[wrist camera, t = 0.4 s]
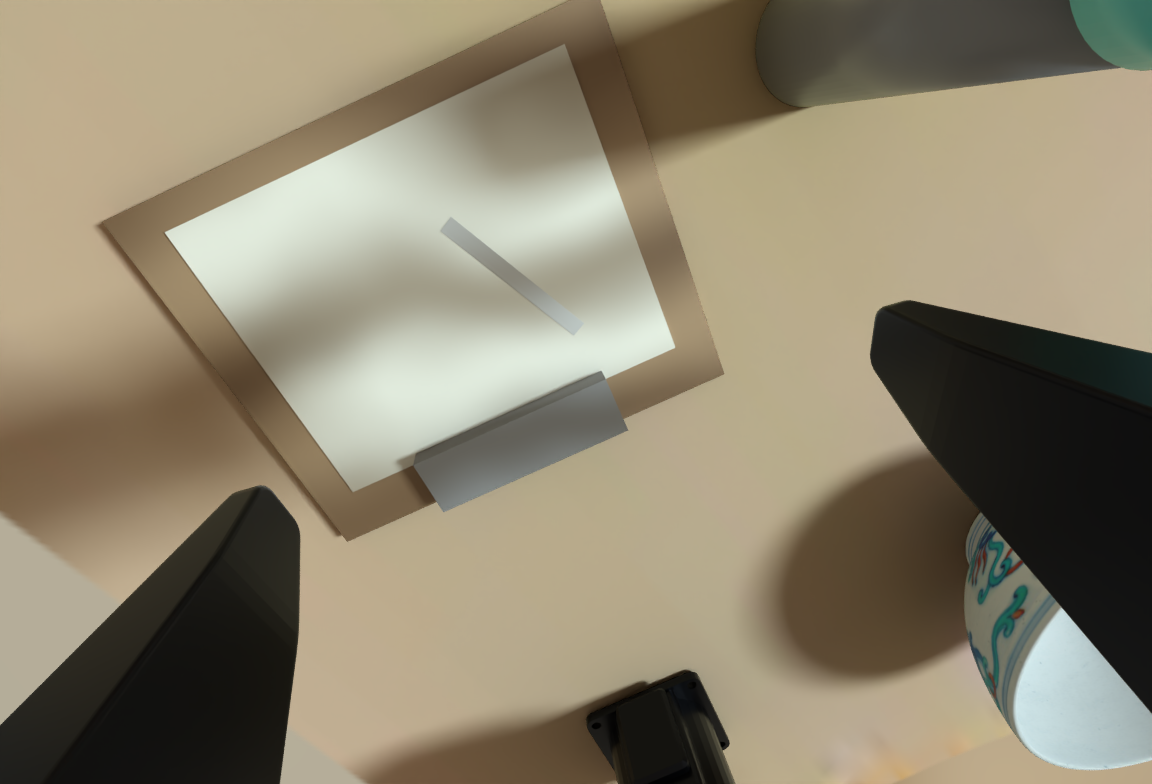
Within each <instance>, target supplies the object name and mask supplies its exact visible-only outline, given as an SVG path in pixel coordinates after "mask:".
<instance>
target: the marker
mask: <svg viewBox="0 0 1152 784" xmlns="http://www.w3.org/2000/svg"><path fill="white" fill-rule="evenodd" d="M756 61H757V66H758V70H759V73H760V76H761V78H762V80H763V82H764V84H765V85H766V87H767V89H768V90H769V91H770V92H771V93H772V94H773V95H774V96H775V97H776V98H777V99H779V100H780V101H782V102H784V103H786V104H788V105H791V106H795V107H812V106H820V105H828V104H836V103H844V102H852V101H860V100H868V99H876V98H884V97H892V96H900V95H908V94H916V93H923V92H931V91H939V90H947V89H955V88H963V87H971V86H979V85H987V84H995V83H1003V82H1011V81H1019V80H1027V79H1035V78H1043V77H1051V76H1058V75H1066V74H1074V73H1082V72H1090V71H1098V70H1106V69H1114V68H1125V69H1130V70H1140V71H1145V70H1152V0H770V2H769V3H768V5H767V7H766V9H765V11H764V13H763V15H762V18H761V20H760V23H759V27H758V31H757V37H756Z"/></svg>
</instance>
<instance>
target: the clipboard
mask: <svg viewBox="0 0 1152 784" xmlns="http://www.w3.org/2000/svg"><path fill="white" fill-rule="evenodd" d="M102 223H103V224H104V225H105V227H106V228H107V229H108V230H109V232H110V233H111V234H112V236H113V237H114V238H115V240H116V241H117V242H118V244H119V245H120V246H121V247H122V249H123V250H124V251H125V253H126V254H127V255H128V257H129V258H130V259H131V260H132V262H133V263H134V264H135V266H136V267H137V268H138V270H139V271H140V272H141V273H142V275H143V276H144V277H145V279H146V280H147V281H148V283H149V284H150V285H151V287H152V288H153V289H154V290H155V292H156V293H157V294H158V296H159V297H160V298H161V300H162V301H163V302H164V303H165V305H166V306H167V307H168V309H169V310H170V311H171V313H172V314H173V315H174V317H175V318H176V319H177V320H178V322H179V323H180V324H181V326H182V327H183V328H184V330H185V331H186V332H187V333H188V335H189V336H190V337H191V339H192V340H193V341H194V343H195V344H196V345H197V347H198V348H199V349H200V350H201V352H202V353H203V354H204V356H205V357H206V358H207V360H208V361H209V362H210V363H211V365H212V366H213V367H214V369H215V370H216V371H217V373H218V374H219V375H220V376H221V378H222V379H223V380H224V382H225V383H226V384H227V386H228V387H229V388H230V390H231V391H232V392H233V393H234V395H235V396H236V397H237V399H238V400H239V401H240V403H241V404H242V405H243V406H244V408H245V409H246V410H247V412H248V413H249V414H250V416H251V417H252V418H253V420H254V421H255V422H256V423H257V425H258V426H259V427H260V429H261V430H262V431H263V433H264V434H265V435H266V436H267V438H268V439H269V440H270V442H271V443H272V444H273V446H274V447H275V448H276V449H277V451H278V452H279V453H280V455H281V456H282V457H283V459H284V460H285V461H286V463H287V464H288V465H289V466H290V468H291V469H292V470H293V472H294V473H295V474H296V476H297V477H298V478H299V479H300V481H301V482H302V483H303V485H304V486H305V487H306V489H307V490H308V491H309V493H310V494H311V495H312V496H313V498H314V499H315V500H316V502H317V503H318V504H319V506H320V507H321V508H322V509H323V511H324V512H325V513H326V515H327V516H328V517H329V519H330V520H331V521H332V522H333V524H334V525H335V526H336V528H337V529H338V530H339V532H340V533H341V534H342V536H343V537H344V538H345V539H346V541H347V542H348V541H350V540H352V539H354V538H357V537H359V536H361V535H363V534H366V533H368V532H370V531H372V530H375V529H377V528H379V527H381V526H384V525H386V524H388V523H390V522H393V521H395V520H397V519H399V518H402V517H404V516H406V515H408V514H411V513H413V512H415V511H417V510H420V509H422V508H424V507H426V506H429V505H431V504H433V503H435V502H437V503H438V505H439V506H440V508H441V509H442V511H443V512H445V511H447V510H450V509H452V508H454V507H456V506H459V505H461V504H463V503H465V502H468V501H470V500H472V499H474V498H477V497H479V496H481V495H483V494H486V493H488V492H490V491H492V490H495V489H497V488H499V487H501V486H504V485H506V484H508V483H510V482H513V481H515V480H517V479H519V478H522V477H524V476H526V475H528V474H531V473H533V472H535V471H537V470H540V469H542V468H544V467H546V466H549V465H551V464H553V463H555V462H558V461H560V460H562V459H564V458H567V457H569V456H571V455H573V454H576V453H578V452H580V451H582V450H585V449H587V448H589V447H592V446H594V445H596V444H598V443H601V442H603V441H605V440H607V439H610V438H612V437H614V436H616V435H619V434H621V433H623V432H625V431H628V429H627V427H626V424H625V422H624V420H623V419H624V418H626V417H629V416H631V415H633V414H635V413H638V412H640V411H642V410H644V409H647V408H649V407H651V406H653V405H656V404H658V403H660V402H662V401H665V400H667V399H669V398H671V397H674V396H676V395H678V394H680V393H683V392H685V391H687V390H689V389H692V388H694V387H696V386H698V385H701V384H703V383H705V382H707V381H710V380H712V379H714V378H716V377H719V376H721V375H723V374H724V372H723V369H722V366H721V363H720V360H719V357H718V354H717V351H716V348H715V345H714V342H713V339H712V336H711V333H710V330H709V326H708V323H707V320H706V317H705V314H704V311H703V308H702V305H701V302H700V299H699V296H698V293H697V290H696V287H695V284H694V281H693V278H692V275H691V272H690V269H689V266H688V263H687V260H686V257H685V254H684V251H683V248H682V245H681V242H680V239H679V236H678V233H677V230H676V227H675V224H674V221H673V218H672V215H671V212H670V209H669V206H668V203H667V200H666V197H665V194H664V191H663V188H662V185H661V182H660V179H659V176H658V173H657V170H656V167H655V164H654V161H653V158H652V155H651V151H650V148H649V145H648V142H647V139H646V136H645V133H644V130H643V127H642V124H641V121H640V118H639V115H638V112H637V109H636V106H635V103H634V100H633V97H632V94H631V91H630V88H629V85H628V82H627V79H626V76H625V73H624V70H623V67H622V64H621V61H620V58H619V55H618V52H617V49H616V46H615V43H614V40H613V37H612V34H611V31H610V28H609V25H608V22H607V19H606V16H605V13H604V10H603V7H602V4H601V1H600V0H570V1H568V2H565V3H563V4H561V5H559V6H557V7H555V8H553V9H551V10H549V11H546V12H544V13H542V14H540V15H538V16H536V17H534V18H532V19H530V20H527V21H525V22H523V23H521V24H519V25H517V26H515V27H513V28H511V29H508V30H506V31H504V32H502V33H500V34H498V35H496V36H494V37H492V38H489V39H487V40H485V41H483V42H481V43H479V44H477V45H475V46H472V47H470V48H468V49H466V50H464V51H462V52H460V53H458V54H456V55H453V56H451V57H449V58H447V59H445V60H443V61H441V62H439V63H437V64H434V65H432V66H430V67H428V68H426V69H424V70H422V71H420V72H418V73H415V74H413V75H411V76H409V77H407V78H405V79H403V80H401V81H399V82H396V83H394V84H392V85H390V86H388V87H386V88H384V89H382V90H380V91H377V92H375V93H373V94H371V95H369V96H367V97H365V98H363V99H361V100H358V101H356V102H354V103H352V104H350V105H348V106H346V107H344V108H342V109H339V110H337V111H335V112H333V113H331V114H329V115H327V116H325V117H323V118H320V119H318V120H316V121H314V122H312V123H310V124H308V125H306V126H304V127H301V128H299V129H297V130H295V131H293V132H291V133H289V134H287V135H285V136H282V137H280V138H278V139H276V140H274V141H272V142H270V143H268V144H266V145H263V146H261V147H259V148H257V149H255V150H253V151H251V152H249V153H247V154H244V155H242V156H240V157H238V158H236V159H234V160H232V161H230V162H228V163H225V164H223V165H221V166H219V167H217V168H215V169H213V170H211V171H209V172H206V173H204V174H202V175H200V176H198V177H196V178H194V179H192V180H190V181H187V182H185V183H183V184H181V185H179V186H177V187H175V188H173V189H170V190H168V191H166V192H164V193H162V194H160V195H158V196H156V197H154V198H151V199H149V200H147V201H145V202H143V203H141V204H139V205H137V206H135V207H132V208H130V209H128V210H126V211H124V212H122V213H120V214H118V215H116V216H113V217H111V218H109V219H107V220H105V221H103V222H102Z"/></svg>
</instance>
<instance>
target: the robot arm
mask: <svg viewBox="0 0 1152 784" xmlns="http://www.w3.org/2000/svg"><path fill="white" fill-rule="evenodd" d="M870 359H871V364H872V366H873V369H874V370H875V372H876V374H877V375H878V377H879V378H880V380H881V381H882V383H883V384H884V386H885V387H886V389H887V390H888V392H889V393H890V395H891V396H892V398H893V399H894V401H895V402H896V403H897V405H898V406H899V408H900V409H901V411H902V412H903V414H904V415H905V417H906V418H907V420H908V421H909V423H910V424H911V426H912V427H913V429H914V430H915V432H916V433H917V435H918V436H919V438H920V439H921V440H922V442H923V443H924V445H925V446H926V447H927V449H928V450H929V451H930V452H931V454H932V455H933V456H934V457H935V459H936V460H937V461H938V462H939V464H940V465H941V466H942V467H943V468H944V470H945V471H946V472H947V473H948V474H949V475H950V477H951V478H952V479H953V480H954V481H955V483H956V484H957V485H958V486H959V487H960V488H961V490H962V491H963V492H964V493H965V494H966V496H967V497H968V498H969V499H970V500H971V501H972V503H973V504H974V505H975V506H976V507H977V508H978V510H979V511H980V512H981V513H982V514H983V516H984V517H985V518H986V519H987V520H988V521H989V523H990V524H991V525H992V526H993V527H994V529H995V530H996V531H997V532H998V533H999V534H1000V536H1001V537H1002V538H1003V539H1004V540H1005V542H1006V543H1007V544H1008V545H1009V546H1010V547H1011V549H1012V550H1013V551H1014V552H1015V553H1016V554H1017V556H1018V557H1019V558H1020V559H1021V560H1022V562H1023V563H1024V564H1025V565H1026V566H1027V567H1028V569H1029V570H1030V571H1031V572H1032V573H1033V575H1034V576H1035V577H1036V578H1037V579H1038V580H1039V582H1040V583H1041V584H1042V585H1043V586H1044V588H1045V589H1046V590H1047V591H1048V592H1049V593H1050V595H1051V596H1052V597H1053V598H1054V599H1055V600H1056V602H1057V603H1058V604H1059V605H1060V606H1061V608H1062V609H1063V610H1064V611H1065V612H1066V613H1067V615H1068V616H1069V617H1070V618H1071V619H1072V621H1073V622H1074V623H1075V624H1076V625H1077V626H1078V628H1079V629H1080V630H1081V631H1082V632H1083V634H1084V635H1085V636H1086V637H1087V638H1088V639H1089V641H1090V642H1091V643H1092V644H1093V645H1094V646H1095V648H1096V649H1097V650H1098V651H1099V652H1100V654H1101V655H1102V656H1103V657H1104V658H1105V659H1106V661H1107V662H1108V663H1109V664H1110V665H1111V667H1112V668H1113V669H1114V670H1115V671H1116V672H1117V674H1118V675H1119V676H1120V677H1121V678H1122V680H1123V681H1124V682H1125V683H1126V684H1127V685H1128V687H1129V688H1130V689H1131V690H1132V691H1133V692H1134V694H1135V695H1136V696H1137V697H1138V698H1139V700H1140V701H1141V702H1142V703H1143V704H1144V705H1145V707H1146V708H1147V709H1148V710H1149V711H1150V713H1151V714H1152V353H1149V352H1144V351H1139V350H1135V349H1130V348H1126V347H1121V346H1117V345H1112V344H1108V343H1103V342H1098V341H1094V340H1089V339H1085V338H1080V337H1076V336H1071V335H1067V334H1062V333H1057V332H1053V331H1048V330H1044V329H1039V328H1035V327H1030V326H1026V325H1021V324H1016V323H1012V322H1007V321H1003V320H998V319H994V318H989V317H985V316H980V315H975V314H971V313H966V312H962V311H957V310H953V309H948V308H943V307H939V306H934V305H930V304H925V303H921V302H916V301H911V300H906V301H902V302H898V303H895V304H891V305H888V306H884V307H882V308H881V309H879V311H878V312H877V314H876V317H875V322H874V329H873V336H872V344H871V351H870ZM299 601H300V531H299V528H298V525H297V523H296V521H295V519H294V518H293V517H292V515H291V514H290V513H289V512H288V510H287V509H286V508H285V507H284V505H283V504H282V503H281V502H280V500H279V499H278V498H277V497H276V495H275V494H274V493H273V492H272V491H271V489H269V488H268V487H266V486H261V485H260V486H255V487H252V488H248V489H245V490H241V491H238V492H235V493H233V494H232V495H231V496H229V497H228V498H227V499H226V500H225V501H224V502H223V503H222V504H221V505H220V506H219V507H218V508H217V509H216V510H215V511H214V512H213V513H212V514H211V515H210V516H209V517H208V518H207V519H206V520H205V521H204V522H203V523H202V524H201V525H200V526H199V527H198V528H197V529H196V530H195V531H194V532H193V533H192V534H191V535H190V536H189V537H188V538H187V539H186V540H185V541H184V542H183V543H182V544H181V545H180V546H179V547H178V548H177V549H176V550H175V551H174V552H173V553H172V554H171V555H170V556H169V557H168V558H167V559H166V560H165V561H164V562H163V563H162V564H161V565H160V566H159V567H158V568H157V569H156V570H155V571H154V572H153V573H152V574H151V575H150V576H149V577H148V578H147V579H146V580H145V581H144V582H143V583H142V584H141V585H140V586H139V587H138V588H137V589H136V590H135V591H134V592H133V593H132V594H131V595H130V596H129V597H128V598H127V599H126V600H125V601H124V602H123V603H122V604H121V605H120V606H119V607H118V608H117V609H116V610H115V611H114V612H113V613H112V614H111V615H110V616H109V617H108V618H107V619H106V620H105V621H104V622H103V623H102V624H101V625H100V626H99V627H98V628H97V629H96V630H95V631H94V632H93V633H92V634H91V635H90V636H89V637H88V638H87V639H86V640H85V641H84V642H83V643H82V644H81V645H80V646H79V647H78V648H77V649H76V650H75V651H74V652H73V653H72V654H71V655H70V656H69V657H68V658H67V659H66V660H65V661H64V662H63V663H62V664H61V665H60V666H59V667H58V668H57V669H56V670H55V671H54V672H53V673H52V674H51V675H50V676H49V677H48V678H47V679H46V680H45V681H44V682H43V683H42V684H41V685H40V686H39V687H38V688H37V689H36V690H35V691H34V692H33V693H32V694H31V695H30V696H29V697H28V698H27V699H26V700H25V701H24V702H23V703H22V704H21V705H20V706H19V707H18V708H17V709H16V710H15V711H14V712H13V713H12V714H11V715H10V716H9V717H8V718H7V719H6V720H5V721H4V722H3V723H2V724H1V725H0V784H280V777H281V770H282V762H283V754H284V746H285V738H286V731H287V724H288V716H289V708H290V700H291V693H292V685H293V677H294V669H295V662H296V654H297V645H298V635H299ZM586 723H587V728H588V730H589V732H590V734H591V735H592V737H593V738H594V740H595V741H596V743H597V744H598V746H599V747H600V749H601V751H602V752H603V754H604V755H605V757H606V758H607V760H608V761H609V763H610V764H611V766H612V768H613V769H614V771H615V773H616V778H617V783H618V784H735V782H734V779H733V776H732V774H731V771H730V769H729V766H728V764H727V761H726V758H725V756H724V753H723V751H722V750H724V749H726V748H727V747H728V746H729V744H730V743H729V739H728V737H727V735H726V732H725V730H724V728H723V726H722V724H721V722H720V720H719V718H718V716H717V714H716V712H715V709H714V707H713V705H712V703H711V701H710V699H709V697H708V695H707V693H706V691H705V689H704V686H703V684H702V682H701V680H700V678H699V676H698V674H697V673H695V672H689V673H685V674H683V675H681V676H678V677H676V678H674V679H671V680H669V681H667V682H664V683H662V684H660V685H657V686H655V687H653V688H650V689H648V690H646V691H643V692H641V693H639V694H636V695H634V696H632V697H629V698H627V699H624V700H622V701H620V702H617V703H615V704H613V705H610V706H608V707H606V708H603V709H601V710H599V711H596V712H594V713H592V714H590V715H589V716H588V717H587V718H586Z"/></svg>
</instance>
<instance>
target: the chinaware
mask: <svg viewBox="0 0 1152 784" xmlns="http://www.w3.org/2000/svg"><path fill="white" fill-rule="evenodd" d="M966 557H967V561H968V563H969V569H968V573H967V578H966V583H965V593H964V613H965V623H966V630H967V635H968V639H969V643H970V646H971V650H972V653H973V656H974V659H975V662H976V664H977V667H978V669H979V672H980V674H981V676H982V678H983V680H984V683H985V685H986V687H987V689H988V691H989V693H990V694H991V696H992V698H993V700H994V702H995V704H996V705H997V707H998V709H999V710H1000V712H1001V714H1002V715H1003V717H1004V718H1005V720H1006V722H1007V723H1008V725H1009V726H1010V728H1011V729H1012V731H1013V732H1014V734H1015V735H1016V736H1017V738H1018V739H1019V740H1020V742H1021V743H1022V744H1023V745H1024V746H1025V747H1026V748H1027V749H1028V750H1029V751H1030V752H1031V753H1033V754H1034V755H1036V756H1037V757H1038V758H1040V759H1042V760H1044V761H1046V762H1048V763H1051V764H1053V765H1057V766H1060V767H1064V768H1069V769H1078V770H1103V769H1113V768H1120V767H1125V766H1130V765H1135V764H1139V763H1143V762H1147V761H1150V760H1152V714H1151V713H1150V711H1149V710H1148V709H1147V708H1146V707H1145V705H1144V704H1143V703H1142V702H1141V701H1140V700H1139V698H1138V697H1137V696H1136V695H1135V694H1134V692H1133V691H1132V690H1131V689H1130V688H1129V687H1128V685H1127V684H1126V683H1125V682H1124V681H1123V680H1122V678H1121V677H1120V676H1119V675H1118V674H1117V672H1116V671H1115V670H1114V669H1113V668H1112V667H1111V665H1110V664H1109V663H1108V662H1107V661H1106V659H1105V658H1104V657H1103V656H1102V655H1101V654H1100V652H1099V651H1098V650H1097V649H1096V648H1095V646H1094V645H1093V644H1092V643H1091V642H1090V641H1089V639H1088V638H1087V637H1086V636H1085V635H1084V634H1083V632H1082V631H1081V630H1080V629H1079V628H1078V626H1077V625H1076V624H1075V623H1074V622H1073V621H1072V619H1071V618H1070V617H1069V616H1068V615H1067V613H1066V612H1065V611H1064V610H1063V609H1062V608H1061V606H1060V605H1059V604H1058V603H1057V602H1056V600H1055V599H1054V598H1053V597H1052V596H1051V595H1050V593H1049V592H1048V591H1047V590H1046V589H1045V588H1044V586H1043V585H1042V584H1041V583H1040V582H1039V580H1038V579H1037V578H1036V577H1035V576H1034V575H1033V573H1032V572H1031V571H1030V570H1029V569H1028V567H1027V566H1026V565H1025V564H1024V563H1023V562H1022V560H1021V559H1020V558H1019V557H1018V556H1017V554H1016V553H1015V552H1014V551H1013V550H1012V549H1011V547H1010V546H1009V545H1008V544H1007V543H1006V542H1005V540H1004V539H1003V538H1002V537H1001V536H1000V534H999V533H998V532H997V531H996V530H995V529H994V527H993V526H992V525H991V524H990V523H989V521H988V520H987V519H986V518H985V517H984V516H983V514H982V513H981V512H980V513H979V514H978V516H977V517H976V519H975V521H974V522H973V524H972V526H971V528H970V531H969V533H968V536H967V540H966Z"/></svg>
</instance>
